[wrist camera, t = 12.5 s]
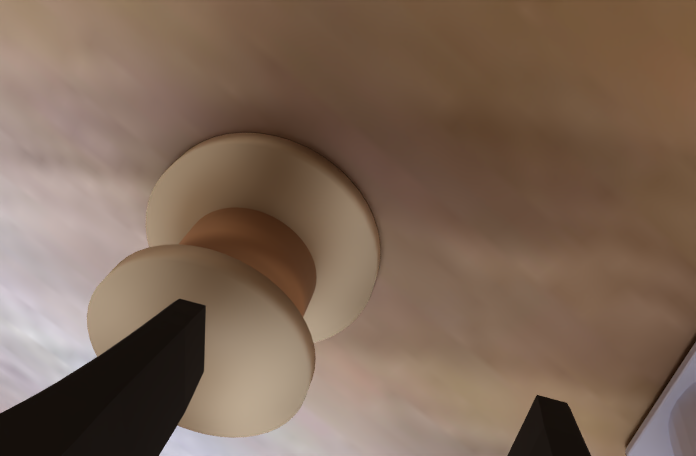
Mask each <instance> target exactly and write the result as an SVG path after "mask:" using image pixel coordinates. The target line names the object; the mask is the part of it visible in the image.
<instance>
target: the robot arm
mask: <svg viewBox="0 0 696 456" xmlns="http://www.w3.org/2000/svg"><path fill="white" fill-rule="evenodd" d="M205 320H206V305H202V304H198V303H195V302H191V301H187V300H183V299H178V300H176V301H174V302H173V303H172V304H170V305H169V306H168V307H166V308H165V309H164V310H162V311H161V312H160V313H158V314H157V315H155V316H154V317H153V318H151V319H150V320H149V321H147V322H146V323H145V324H143V325H142V326H141V327H139V328H138V329H136V330H135V331H134V332H132V333H131V334H130V335H128V336H127V337H125V338H124V339H122V340H121V341H120V342H118V343H117V344H115V345H114V346H112V347H111V348H109V349H108V350H107V351H105V352H104V353H102V354H101V355H99V356H98V357H96V358H95V359H93V360H92V361H90V362H89V363H87V364H85V365H84V366H82V367H81V368H79V369H77V370H76V371H74V372H73V373H71V374H70V375H68V376H66V377H65V378H63V379H62V380H60V381H58V382H57V383H55V384H53V385H52V386H50V387H48V388H46V389H45V390H43V391H41V392H39V393H38V394H36V395H34V396H32V397H30V398H29V399H27V400H25V401H23V402H21V403H19V404H17V405H15V406H14V407H12V408H10V409H8V410H6V411H4V412H2V413H0V456H159V454H160V453H161V451H162V450H163V448H164V446H165V445H166V443H167V441H168V440H169V438H170V436H171V435H172V433H173V432H174V430H175V428H176V427H177V425H178V423H179V422H180V420H181V418H182V417H183V415H184V413H185V412H186V409H187V407H188V405H189V403H190V401H191V399H192V397H193V395H194V393H195V390H196V388H197V386H198V384H199V381H200V379H201V377H202V375H203V373H204V359H205ZM625 452H626V456H696V342H695V344H694V345H693V347H692V348H691V350H690V351H689V353H688V354H687V356H686V357H685V359H684V360H683V362H682V363H681V365H680V366H679V368H678V370H677V371H676V373H675V374H674V376H673V377H672V379H671V380H670V382H669V383H668V385H667V386H666V388H665V389H664V391H663V392H662V394H661V396H660V397H659V399H658V400H657V402H656V403H655V405H654V406H653V408H652V409H651V411H650V412H649V414H648V415H647V417H646V418H645V420H644V422H643V423H642V425H641V426H640V428H639V429H638V431H637V432H636V434H635V435H634V437H633V438H632V440H631V441H630V443H629V444H628V446H627V448H626V450H625ZM508 456H591V455H590V452H589V450H588V448H587V446H586V444H585V441H584V439H583V437H582V435H581V432H580V430H579V428H578V426H577V423H576V421H575V419H574V416H573V414H572V412H571V409H570V407H569V406H568V404H567V403H565V402H561V401H558V400H554V399H550V398H547V397H543V396H539V395H537V396H536V398H535V400H534V402H533V404H532V406H531V408H530V410H529V412H528V414H527V416H526V419H525V421H524V423H523V425H522V427H521V429H520V431H519V433H518V435H517V437H516V439H515V441H514V443H513V445H512V447H511V450H510V452H509V454H508Z"/></svg>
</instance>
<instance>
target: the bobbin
mask: <svg viewBox="0 0 696 456" xmlns="http://www.w3.org/2000/svg"><path fill="white" fill-rule="evenodd" d="M146 233H147V240H148V244H149V248H146V249H143V250H140V251H137V252H135V253H133V254H131V255H129V256H128V257H126V258H125V259H124V260H122V261H121V262H120V263H119V264H118V265H117V266H116V267H115V268H114V269H113V270H112V271H111V272H110V273H109V274H108V275H107V276H106V278H105V279H104V280H103V281H102V282H101V283H100V284H99V285H98V286H97V288H96V290H95V291H94V293H93V295H92V297H91V300H90V303H89V306H88V313H87V327H88V332H89V337H90V340H91V343H92V346H93V349H94V351H95V353H96V355H97V357H98V356H99V355H101V354H102V353H104V352H105V351H107V350H108V349H109V348H111V347H112V346H114V345H115V344H117V343H118V342H120V341H121V340H122V339H124V338H125V337H127V336H128V335H130V334H131V333H132V332H134V331H135V330H136V329H138V328H139V327H141V326H142V325H143V324H145V323H146V322H147V321H149V320H150V319H151V318H153V317H154V316H155V315H157V314H158V313H160V312H161V311H162V310H164V309H165V308H166V307H168V306H169V305H170V304H172V303H173V302H174V301H176V300H178V299H183V300H187V301H191V302H195V303H198V304H202V305H206V320H205V359H204V373H203V375H202V377H201V379H200V381H199V384H198V386H197V388H196V390H195V393H194V395H193V397H192V399H191V401H190V403H189V405H188V407H187V409H186V412H185V413H184V415H183V417H182V418H181V420H180V422H179V423H178V426H180V427H183V428H186V429H189V430H192V431H195V432H199V433H203V434H207V435H213V436H220V437H249V436H256V435H260V434H264V433H267V432H270V431H272V430H274V429H277V428H279V427H280V426H282V425H283V424H285V423H287V422H288V421H289V420H290V419H291V418H292V417H293V416H294V415H295V414H296V413H297V411H298V410H299V409H300V407H301V405H302V403H303V401H304V399H305V397H306V394H307V391H308V389H309V386H310V383H311V380H312V377H313V373H314V370H315V348H314V343H315V342H319V341H321V340H324V339H327V338H330V337H332V336H333V335H335V334H337V333H339V332H341V331H342V330H344V329H345V328H346V327H348V326H349V325H350V324H351V323H352V322H353V321H354V320H355V319H356V318H358V316H359V315H360V314H361V312H362V311H363V309H364V308H365V306H366V304H367V302H368V301H369V299H370V296H371V293H372V290H373V287H374V284H375V280H376V277H377V273H378V270H379V264H380V240H379V234H378V229H377V226H376V223H375V220H374V217H373V215H372V213H371V210H370V208H369V206H368V204H367V202H366V201H365V199H364V198H363V196H362V195H361V193H360V192H359V190H358V189H357V188H356V187H355V185H354V184H353V183H352V182H351V181H350V179H349V178H348V177H347V176H346V175H345V174H344V173H343V172H342V171H340V170H339V169H338V168H337V167H336V166H335V165H334V164H332V163H331V162H330V161H328V160H327V159H325V158H324V157H323V156H321V155H319V154H318V153H316V152H314V151H313V150H311V149H309V148H307V147H305V146H303V145H300V144H298V143H296V142H293V141H291V140H287V139H284V138H281V137H277V136H273V135H267V134H261V133H232V134H225V135H221V136H217V137H213V138H211V139H208V140H206V141H203V142H201V143H199V144H197V145H196V146H194V147H192V148H191V149H189V150H188V151H187V152H186V153H184V154H183V155H182V156H181V157H180V158H179V159H177V160H176V161H175V162H174V163H173V164H172V165H171V166H170V167H169V168H168V169H167V170H166V171H165V172H164V174H163V175H162V176H161V177H160V178H159V180H158V181H157V183H156V185H155V187H154V188H153V190H152V193H151V196H150V198H149V201H148V206H147V211H146Z"/></svg>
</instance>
